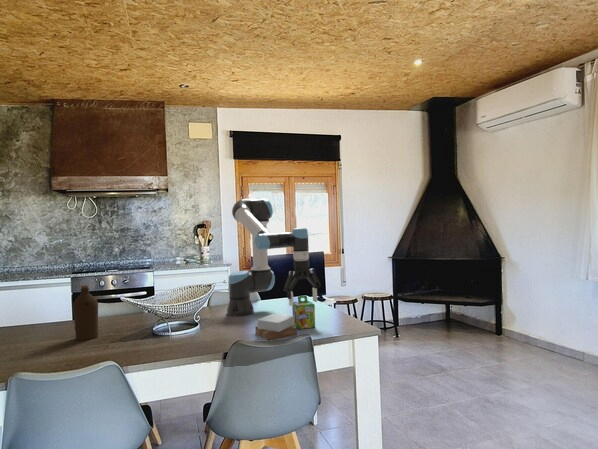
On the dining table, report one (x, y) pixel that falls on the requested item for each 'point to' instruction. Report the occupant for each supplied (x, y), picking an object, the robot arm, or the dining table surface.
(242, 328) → the dining table surface
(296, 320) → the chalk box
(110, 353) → the dining table surface
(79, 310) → the olive oil
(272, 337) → the walnut slab
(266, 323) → the grey slab
